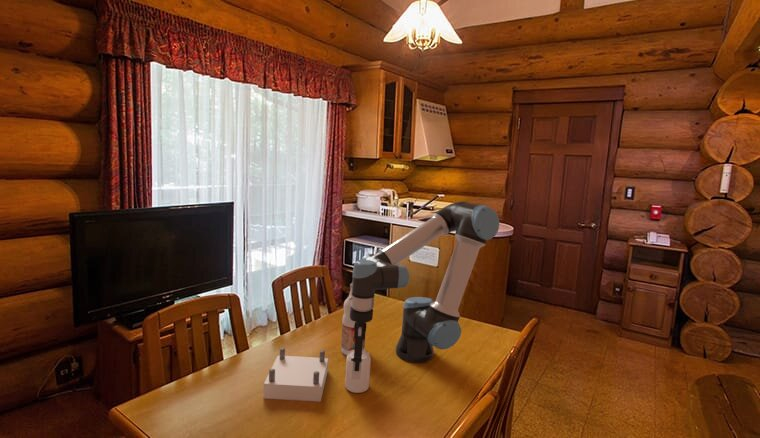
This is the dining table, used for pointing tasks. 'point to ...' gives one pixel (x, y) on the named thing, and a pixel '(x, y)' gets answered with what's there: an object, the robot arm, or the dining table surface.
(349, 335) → the fruit juice
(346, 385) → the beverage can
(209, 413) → the dining table surface
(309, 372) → the peg stand
